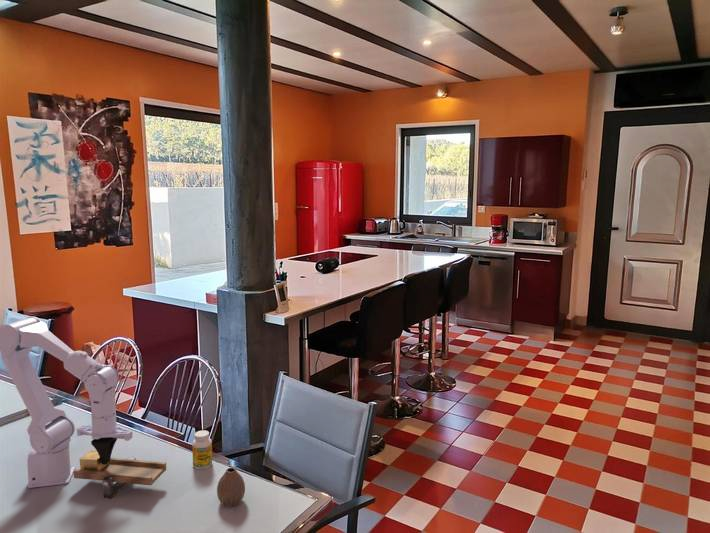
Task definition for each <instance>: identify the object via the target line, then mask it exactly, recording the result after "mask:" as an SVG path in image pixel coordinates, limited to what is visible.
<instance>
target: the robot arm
mask: <svg viewBox="0 0 710 533" xmlns="http://www.w3.org/2000/svg"><path fill="white" fill-rule="evenodd" d="M34 347H37V348H39V349H42V350H43V351H45V352H46V353H48V354H50V355H51V356H53V357H54V358H56V359H58V360H59V361H62V362H63V368H64V369H65V371H68V373H70V374H71V375H72V376H74V377H76V378H77V379H79V380H80V381H81V382H82V383H83V384H84V386H83V387H84V388H85V390H86V392H87V393H88V397H89V398H88V399H90V410H91V425H81V426H79V427H77V428H76V427H75V423H74V422H73V420H72V419H71V418H70V417H68V416H67V414H66V412H65V411H64V410H62V409H58V408H56V407H55V406H54V405H53V402H52V401H51V398H50V396H49V394H48V392H47V390H46V389H45V386H44V385H43V383H42V381H41V379H40V377H39V375H38V373H37V370H36V369H35V367H34V364H33V362H32V361H31V358H30V357H29V354H30V353H31V351H32V350H33V349H32V348H34ZM0 355H1V356H0V357H1V360H2V362H3V364H4V366H5V368H6V369H7V372H8V374H9V376H10V377H11V379H12V382H13V383H14V386H15V389H16V391H17V392H18V394H19V396H20V398H21V399H22V402H23V404H24V406H25V409H27V411H28V412H27V413H29V415H30V417H31V421H30V422H29V425H28V427H27V429H26V430H27V434H28V436H29V444H30V447H31V449H30V450H29V452H28V455H27V461H26V462H27V476H28V477H27V478H28V479H27V480H28V485H27V489H31V488H32V489H33V488H39V487H49V486H57V485H67V484H69V482H70V481H71V478H72V477H73V475H74V473H73V471H74V470H75V469H76V467H75V466H71V456H70V453H71V452H70V442H71V437H73V435H74V434H75V431H76V435H77V436H78V437H80V436H90V437H91V439H92V440H91V441H90V443H91V445H92V447H94V449H95V451H97V452H98V454H99V456H100V459H101V462H102V464H104V465H106V464H107V463H108V462H109V461H110V458H112V457H111V456H112V452H113V450H114V446H115V444H116V443H117V440H118V439H120V440H124V441H126V442H128V441H130V440H131V439H132V438H133V430H130V429H127V428H123V427H120V426H118V425H117V412H116V411H117V408H116V407H117V406H116V405H117V404H116V387H115V386H116V385H117V384H118V383H119V380H120V374H119V372H118V370H117V369H116V368H115V367H114V366H113V365H111V364H110V365H109V364H103V363H100V362H98V361H97V360H95V359H94V358H92V357H91V356H90V355H89V353H88V352H86V351H83V350H73V349H72V348H70V347H69V346H68V345H67V344H66V343H65V342H64V341H63V340H60V338H58V337H57V336H56V335H54V333H53V332H51V331H50V330H49V329H48V325H47V323H45V322H44V321H42V320H41V319H40V318H38V317H36V316H29V317H26V318H23V319H20V320H17V321H16V320H15V321H14V322H11V323H5V324H2V325H0Z"/></svg>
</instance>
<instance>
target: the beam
mask: <svg viewBox="0 0 710 533" xmlns="http://www.w3.org/2000/svg"><path fill="white" fill-rule="evenodd" d="M166 471H167V462H163V461H153V460H152V461H150V460H142V459H141V460H140V459H136V460H131V459H127V458H119V457H117V458H116V457H111V458H110V461H109V464H108V465H107V466H105V467H104V468H103V469H102V470H101V471H90V470H81V468H80V469H79V468H78V469H77V468H75V470H74V471H73V478H74V479H78V480H79V479H82V480H92V481H100V482H103V479H104V478H105V477H110V478H113V483H116V482H120V483H127V484H132V485H143V486H152V485H153V484H154V483H155V482H156V481H157V480H158V479H159V478H160V477H161V476H162V475H163V473H165V472H166Z"/></svg>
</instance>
